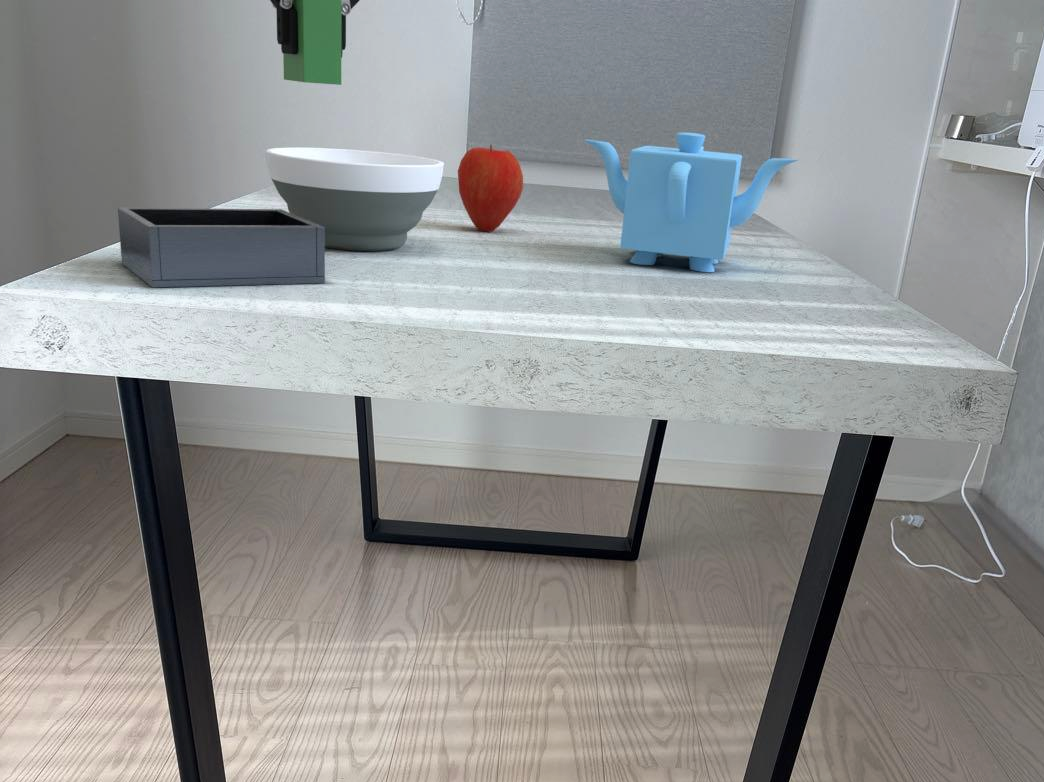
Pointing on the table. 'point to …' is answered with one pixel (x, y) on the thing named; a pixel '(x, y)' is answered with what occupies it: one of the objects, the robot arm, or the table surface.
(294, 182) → the bowl
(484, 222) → the apple
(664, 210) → the teakettle
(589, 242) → the table surface
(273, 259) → the grey open box
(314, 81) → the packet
